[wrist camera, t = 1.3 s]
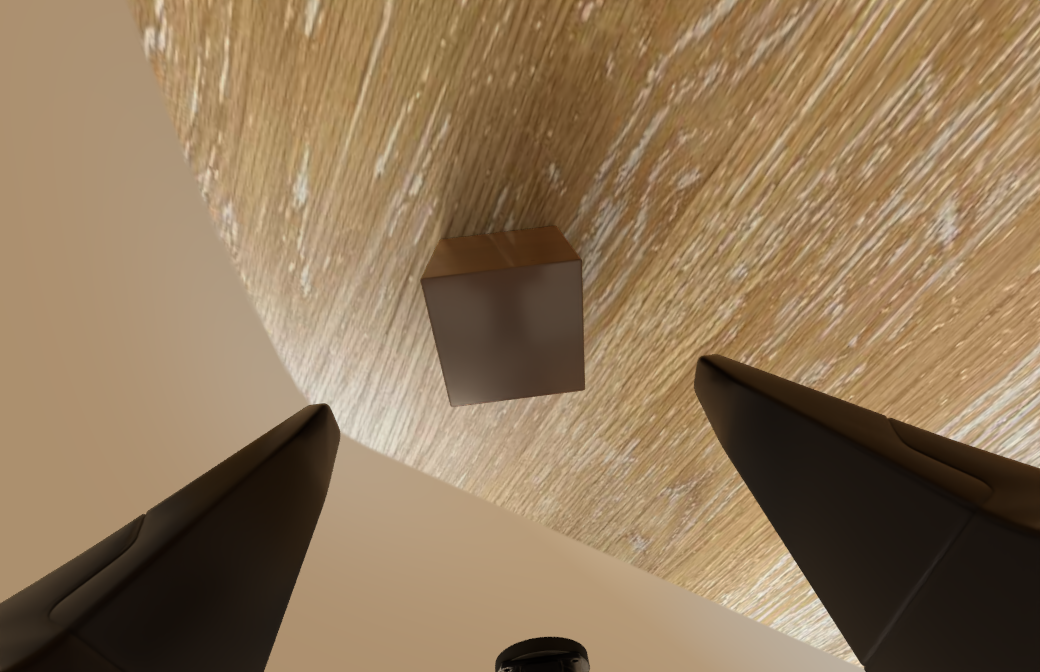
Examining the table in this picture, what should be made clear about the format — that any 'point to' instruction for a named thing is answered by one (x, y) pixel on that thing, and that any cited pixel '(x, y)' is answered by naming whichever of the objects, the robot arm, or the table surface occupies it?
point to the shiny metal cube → (507, 315)
